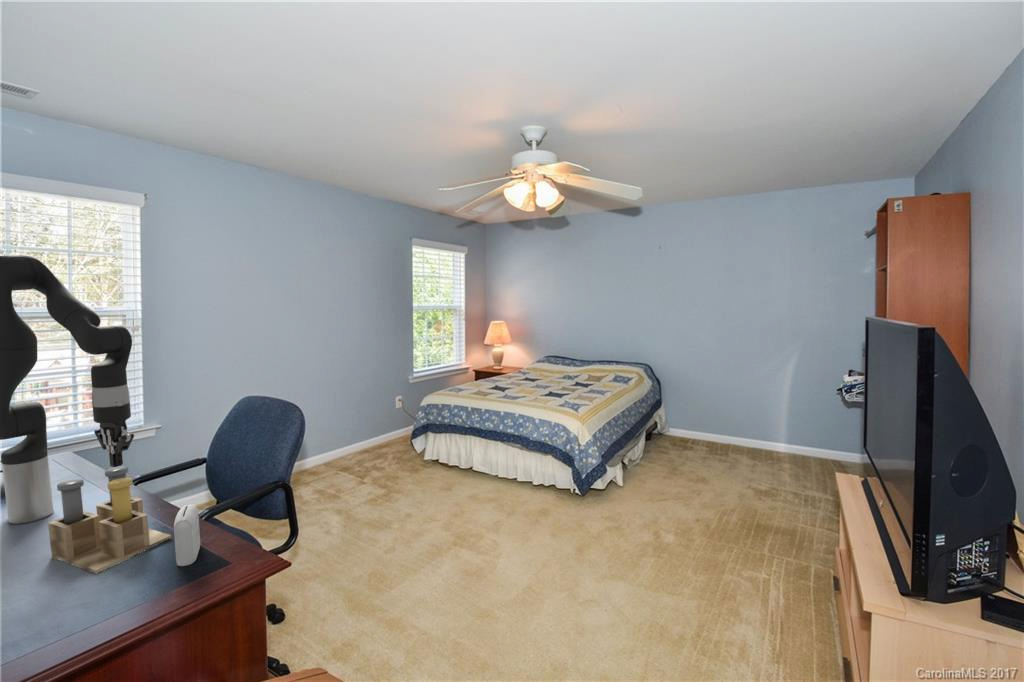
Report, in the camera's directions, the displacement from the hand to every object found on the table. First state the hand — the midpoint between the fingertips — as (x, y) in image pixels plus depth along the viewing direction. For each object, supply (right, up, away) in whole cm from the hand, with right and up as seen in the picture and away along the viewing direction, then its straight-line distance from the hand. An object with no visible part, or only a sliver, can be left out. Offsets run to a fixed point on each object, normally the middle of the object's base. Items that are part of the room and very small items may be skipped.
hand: (116, 465), depth 127 cm
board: (+3, -20, -4) cm, 21 cm away
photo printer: (+24, -21, -7) cm, 33 cm away
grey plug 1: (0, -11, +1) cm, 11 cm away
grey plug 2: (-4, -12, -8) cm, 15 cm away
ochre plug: (+8, -12, -7) cm, 16 cm away
